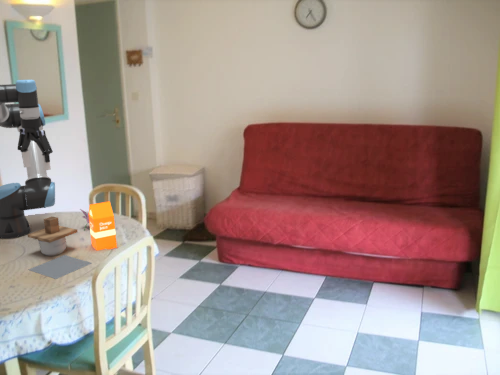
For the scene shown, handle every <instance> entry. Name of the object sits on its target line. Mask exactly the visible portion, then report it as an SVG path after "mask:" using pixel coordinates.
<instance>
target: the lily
mask: <svg viewBox="0 0 500 375" xmlns="http://www.w3.org/2000/svg"><path fill="white" fill-rule="evenodd" d="M79 210H80V211H81V212H82V213H83V215H82V218H83V219H85V220H86V224H85V225H84V229H83V231H84V232H85V231H86V228H87V225H88V224H89V212H86V210H85V211H84V210H83V209H81V208H80V209H79Z"/></svg>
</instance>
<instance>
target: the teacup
mask: <svg viewBox="0 0 500 375" xmlns="http://www.w3.org/2000/svg"><path fill="white" fill-rule="evenodd" d="M37 241H38V247H39V249H40V252H41V254H43V255H45V256H50V257H51V256H57V255H60V254H63V253H64V251H65V250H66V248H67V239H66V237H64V238H61V239H59V240H56V241H53V242H51V243H49V242H45V241H41V240H37Z"/></svg>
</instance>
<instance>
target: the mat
mask: <svg viewBox="0 0 500 375" xmlns="http://www.w3.org/2000/svg"><path fill="white" fill-rule="evenodd" d="M92 264H93V262H90V261H87V260H83V259H81V258H80V259H79V258H76V257H73V256H69V255H67V254H63V255H61V256H59V257H55V258H54V259H50V260H48V261H46V262H43V263H41V264H38V265H36V266H33V267H31V268H29V269H27V271H31V272H34V273H37V274H40V275H43V276H45V277H48V278H51V279H54V280H57V279H60V278H62V277H64V276H66V275H69V274H71V273H73V272H75V271H78V270H80V269H83V268H85V267H87V266H89V265H92Z"/></svg>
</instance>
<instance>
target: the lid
mask: <svg viewBox="0 0 500 375" xmlns="http://www.w3.org/2000/svg"><path fill="white" fill-rule="evenodd" d="M43 223H44V224H43V225H44V228H42V229H39V230H36V231H33V232H31V233H30V232H29V233H28V234H26V235H27V238H30V239H33V240H36V241H38V240H41V241H45V242H49V243H51V242H53V241H56V240H59V239H61V238H64V237H65V238H66V237H69V236H72V235H74V234H76V233H78V229H76V228H73V227H72V228H71V227H67V226H64V225H60V223H59V217H55V216H48V217H46V218H43Z"/></svg>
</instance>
